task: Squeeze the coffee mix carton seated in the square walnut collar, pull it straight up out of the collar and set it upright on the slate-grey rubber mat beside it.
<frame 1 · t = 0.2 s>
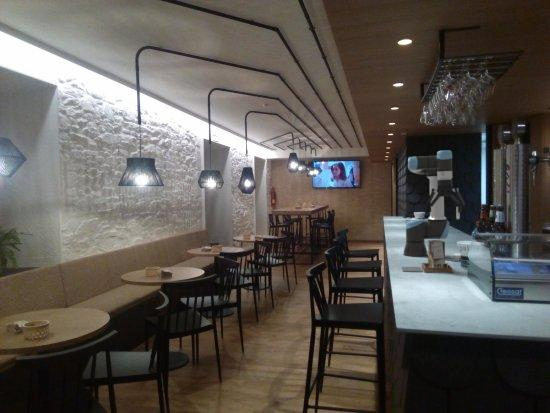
hand: (445, 218, 232), 28 cm above the countertop, fingers open, 13 cm apart
slate mat: (411, 269, 237), on the countertop
walnut collar: (436, 270, 234), on the countertop
coffee box: (436, 270, 234), resting in walnut collar
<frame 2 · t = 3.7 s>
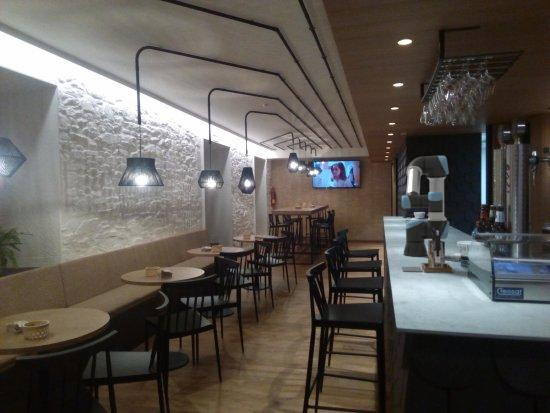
hand: (436, 260, 234), 5 cm above the countertop, fingers closed on coffee box, 10 cm apart
coffee box: (436, 270, 234), resting in walnut collar, touching gripper
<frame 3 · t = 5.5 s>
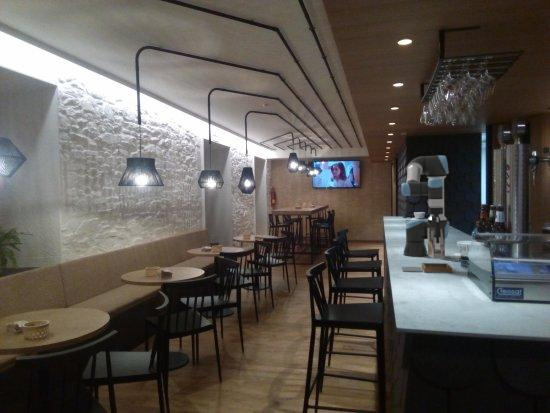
hand: (436, 247, 233), 12 cm above the countertop, fingers closed on coffee box, 10 cm apart
coffee box: (436, 257, 234), point 7 cm above the countertop, touching gripper
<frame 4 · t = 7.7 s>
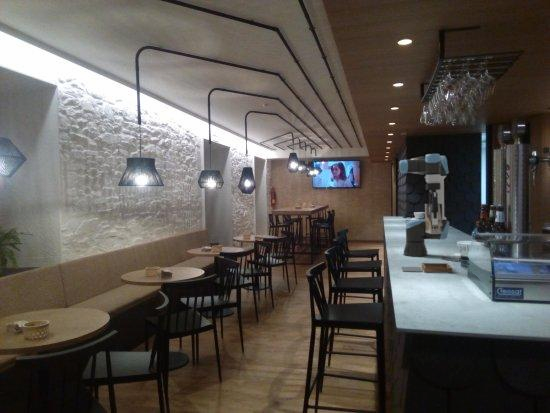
hand: (433, 223, 233), 26 cm above the countertop, fingers closed on coffee box, 10 cm apart
coffee box: (433, 233, 233), point 20 cm above the countertop, touching gripper
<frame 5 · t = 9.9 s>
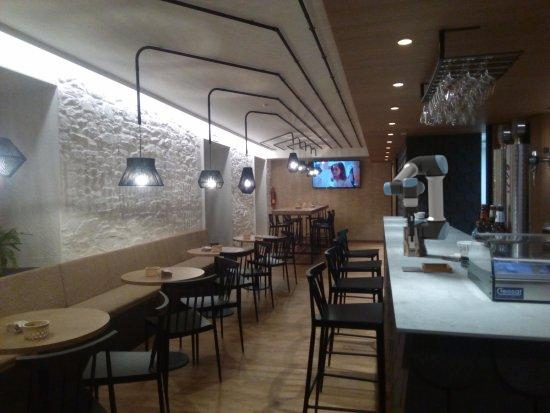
hand: (411, 246, 236), 13 cm above the countertop, fingers closed on coffee box, 10 cm apart
coffee box: (411, 256, 236), point 8 cm above the countertop, touching gripper
when the fingers open (7 cm above the countertop, at t = 12.0 s): coffee box drops 1 cm, resting on slate mat.
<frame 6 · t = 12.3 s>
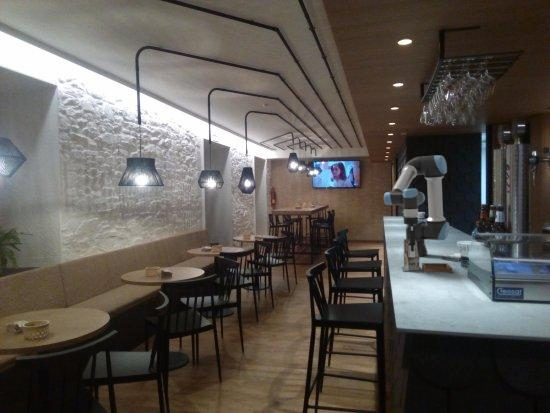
hand: (411, 255, 236), 8 cm above the countertop, fingers open, 13 cm apart
coffee box: (411, 269, 237), resting on slate mat
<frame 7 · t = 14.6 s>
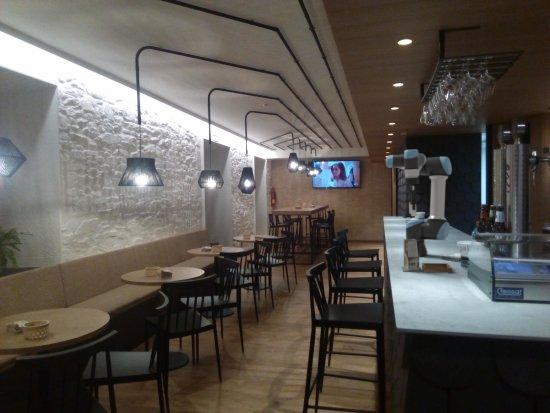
hand: (412, 214, 242), 30 cm above the countertop, fingers open, 13 cm apart
nothing on the countertop moved.
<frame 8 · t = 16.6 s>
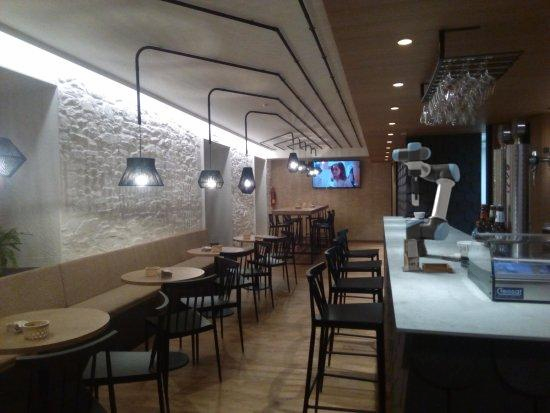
hand: (415, 205, 254), 35 cm above the countertop, fingers open, 13 cm apart
nothing on the countertop moved.
at the end: coffee box inside the target area (0.2 cm from its centre), resting on slate mat; coffee box tilted 0°; the gripper is holding nothing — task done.
